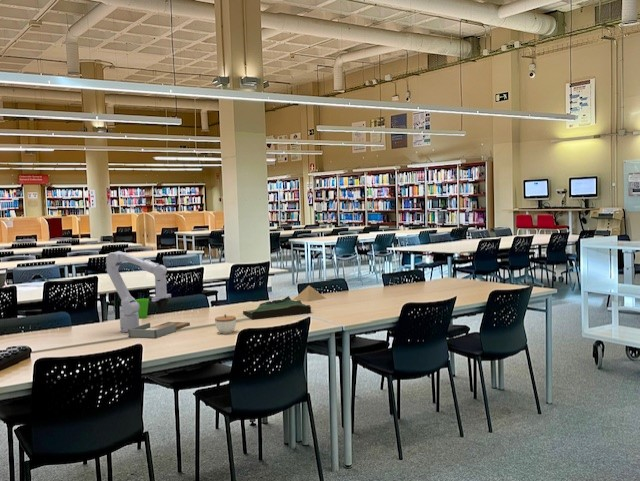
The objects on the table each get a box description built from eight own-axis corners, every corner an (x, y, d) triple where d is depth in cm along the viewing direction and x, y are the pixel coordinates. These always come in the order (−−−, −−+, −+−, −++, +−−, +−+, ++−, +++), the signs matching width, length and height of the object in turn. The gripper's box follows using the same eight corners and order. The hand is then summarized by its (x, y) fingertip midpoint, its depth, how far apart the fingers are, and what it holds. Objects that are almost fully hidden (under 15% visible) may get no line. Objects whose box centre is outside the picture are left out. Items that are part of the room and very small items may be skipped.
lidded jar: (237, 329, 317) (236, 312, 316) (235, 334, 306) (234, 315, 305) (217, 330, 316) (216, 313, 316) (214, 335, 306) (213, 316, 305)
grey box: (128, 337, 310) (128, 329, 310) (148, 330, 326) (148, 322, 326) (156, 338, 304) (155, 330, 304) (175, 331, 320) (175, 323, 320)
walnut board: (151, 330, 325) (151, 327, 325) (168, 324, 340) (168, 321, 340) (173, 331, 320) (173, 328, 320) (189, 325, 335) (189, 322, 335)
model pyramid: (310, 296, 424) (310, 282, 423) (326, 299, 410) (326, 284, 410) (292, 300, 413) (291, 285, 413) (307, 302, 400) (307, 287, 399)
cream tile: (142, 334, 312) (142, 330, 312) (149, 332, 318) (149, 327, 318) (152, 335, 310) (152, 330, 310) (159, 332, 316) (159, 328, 316)
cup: (131, 319, 362) (130, 301, 362) (139, 316, 371) (138, 298, 371) (145, 319, 360) (144, 301, 360) (152, 316, 369) (151, 298, 368)
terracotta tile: (150, 332, 318) (150, 327, 318) (157, 330, 324) (157, 325, 324) (160, 332, 316) (159, 328, 316) (166, 330, 322) (166, 325, 321)
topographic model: (299, 308, 377) (298, 292, 376) (311, 314, 357) (310, 297, 356) (243, 314, 363) (242, 298, 363) (252, 320, 343) (251, 303, 343)
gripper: (158, 289, 315) (160, 315, 316) (175, 285, 329) (176, 310, 329) (147, 289, 318) (149, 315, 318) (164, 285, 331) (165, 310, 332)
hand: (162, 312), depth 324 cm, fingers closed
